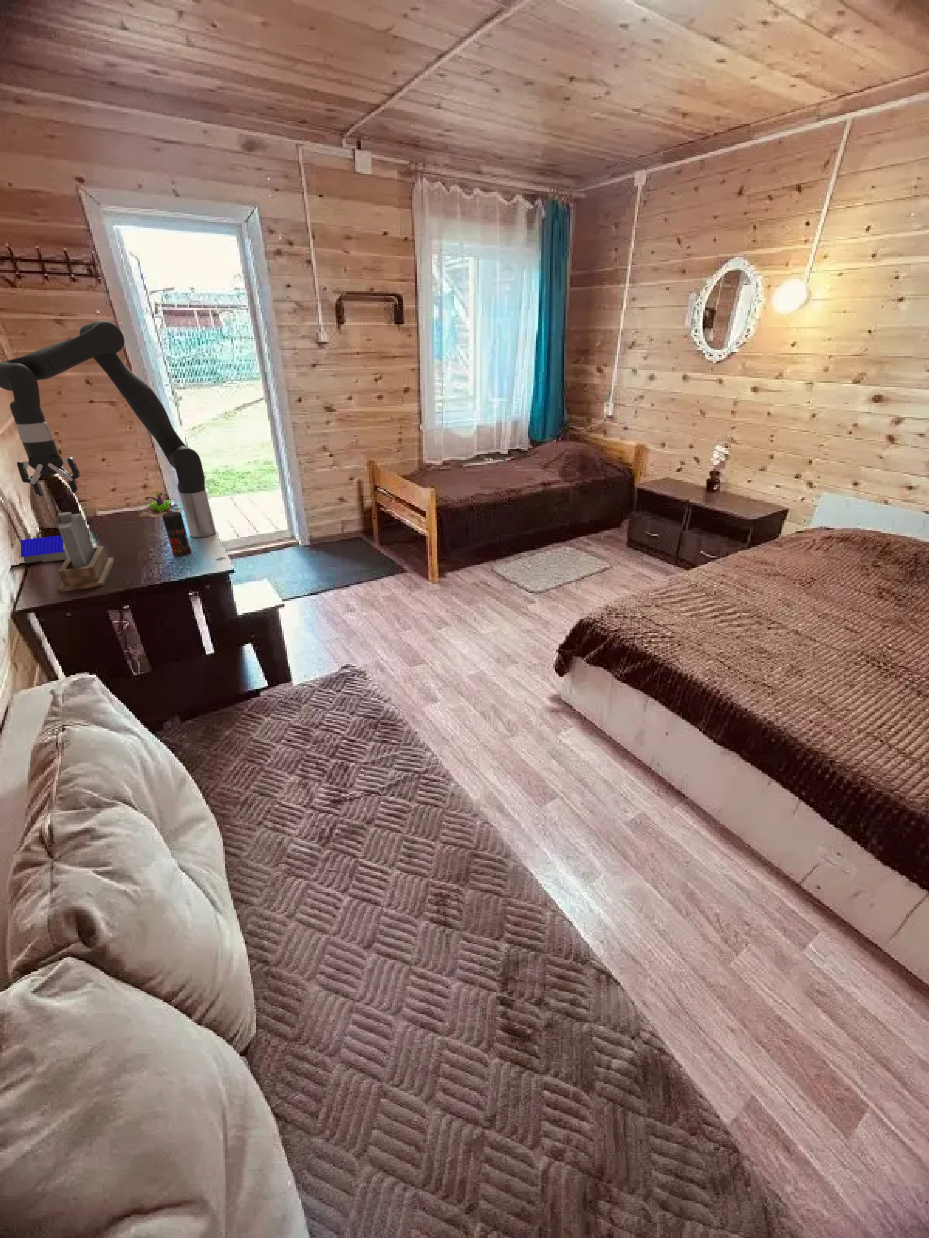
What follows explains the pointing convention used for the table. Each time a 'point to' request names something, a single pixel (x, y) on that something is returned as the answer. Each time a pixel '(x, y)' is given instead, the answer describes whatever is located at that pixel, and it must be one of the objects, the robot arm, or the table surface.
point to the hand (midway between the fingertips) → (58, 494)
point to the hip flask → (76, 539)
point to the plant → (158, 507)
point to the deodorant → (176, 534)
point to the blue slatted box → (43, 549)
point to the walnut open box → (86, 572)
